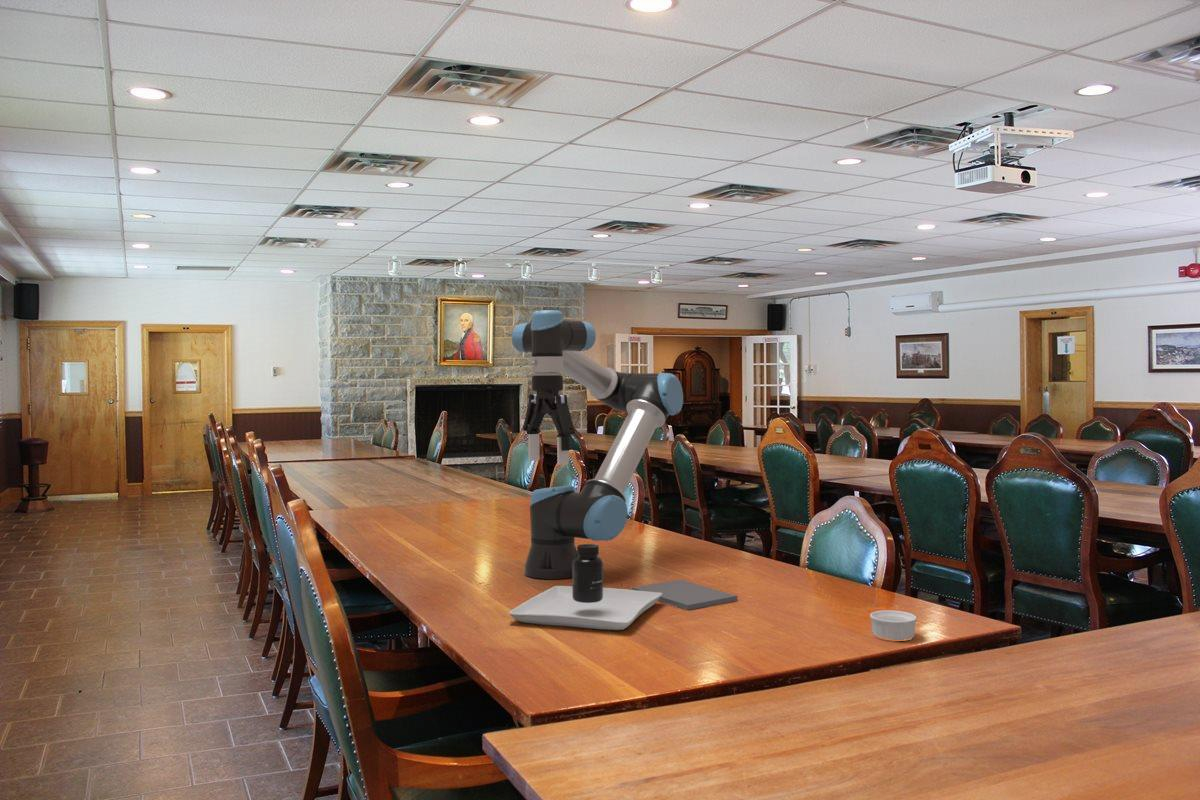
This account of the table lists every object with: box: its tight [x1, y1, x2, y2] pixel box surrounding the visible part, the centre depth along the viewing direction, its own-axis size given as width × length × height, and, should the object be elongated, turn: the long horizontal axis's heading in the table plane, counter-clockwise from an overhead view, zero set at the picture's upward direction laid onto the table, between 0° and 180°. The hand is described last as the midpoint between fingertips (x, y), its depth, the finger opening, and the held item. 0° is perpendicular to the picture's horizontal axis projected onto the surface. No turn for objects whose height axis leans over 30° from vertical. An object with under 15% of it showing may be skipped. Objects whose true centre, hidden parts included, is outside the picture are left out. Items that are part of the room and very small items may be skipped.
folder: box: [631, 579, 738, 611], centre depth 217 cm, size 15×21×1 cm
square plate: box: [508, 585, 663, 631], centre depth 202 cm, size 27×27×4 cm
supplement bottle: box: [571, 543, 604, 603], centre depth 202 cm, size 7×7×12 cm
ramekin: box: [869, 609, 918, 640], centre depth 183 cm, size 9×9×4 cm
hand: (548, 462), depth 221 cm, fingers open, 13 cm apart
